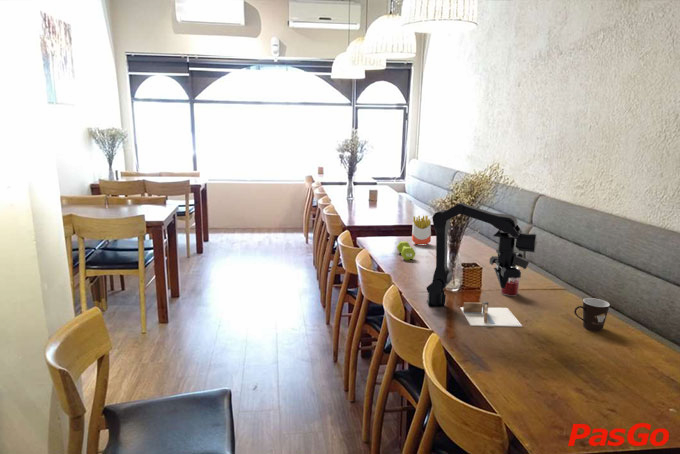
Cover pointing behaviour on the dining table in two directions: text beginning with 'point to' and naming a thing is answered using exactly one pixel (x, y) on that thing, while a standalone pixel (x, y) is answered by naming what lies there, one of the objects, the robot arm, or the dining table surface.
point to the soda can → (511, 286)
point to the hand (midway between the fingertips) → (502, 288)
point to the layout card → (492, 318)
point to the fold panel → (485, 313)
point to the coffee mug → (594, 313)
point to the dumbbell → (406, 250)
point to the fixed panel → (474, 307)
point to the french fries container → (421, 230)
